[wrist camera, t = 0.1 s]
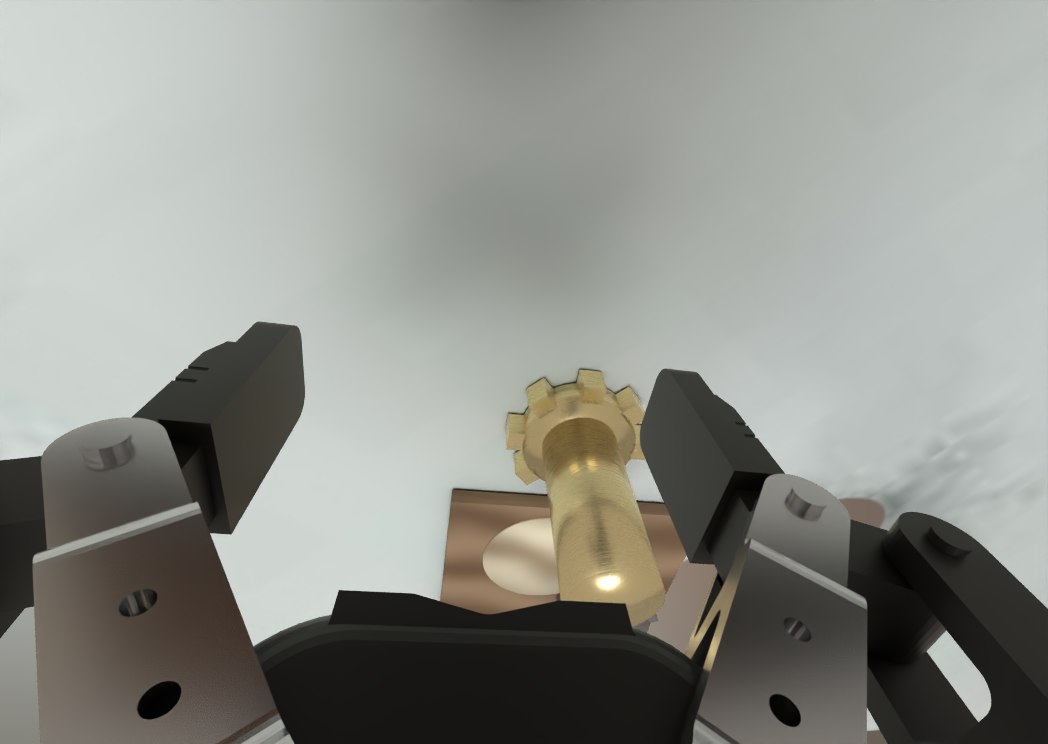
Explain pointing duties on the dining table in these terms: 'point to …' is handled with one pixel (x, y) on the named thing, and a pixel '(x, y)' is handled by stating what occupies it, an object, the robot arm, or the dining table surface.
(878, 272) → the dining table surface
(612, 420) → the cylinder
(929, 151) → the dining table surface
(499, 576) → the gear board
